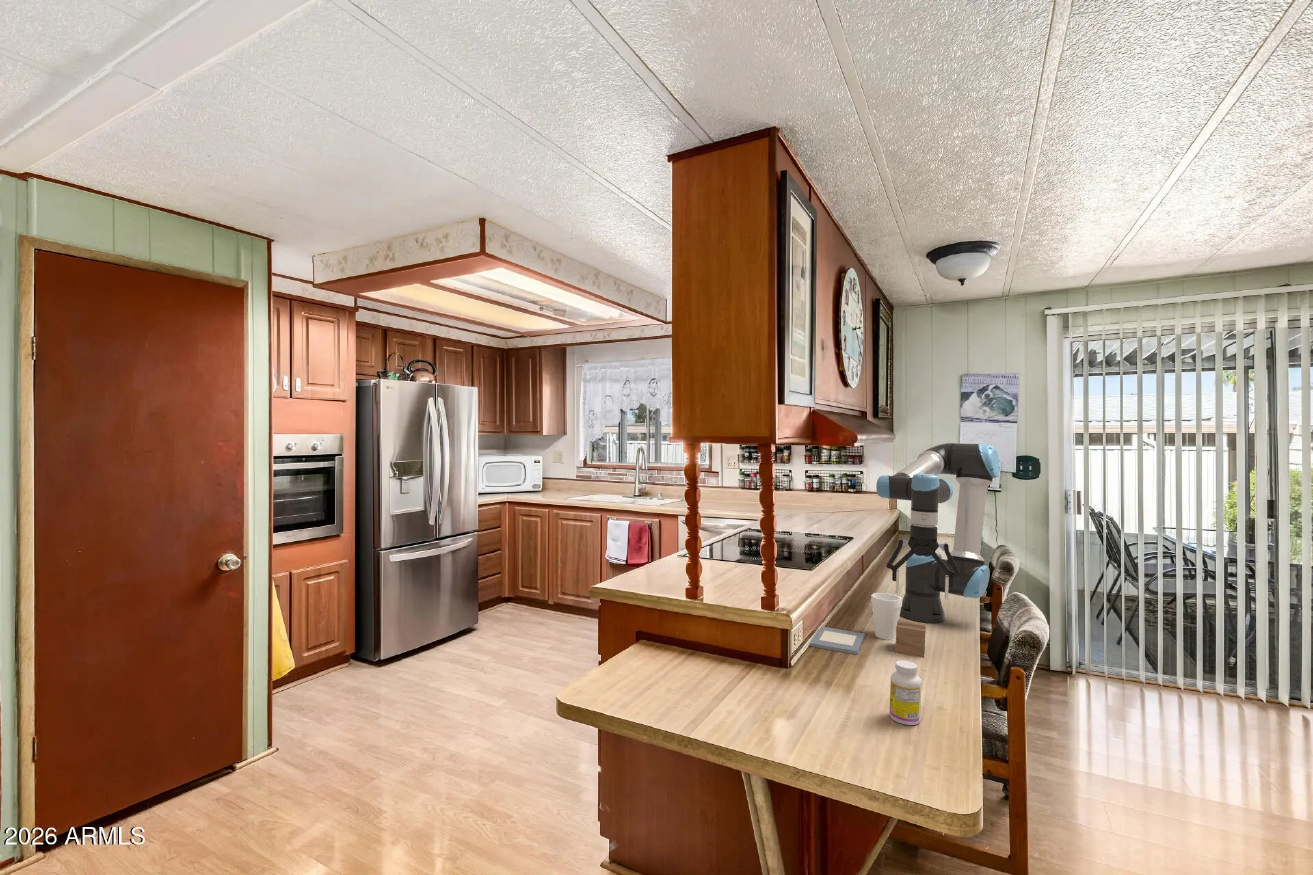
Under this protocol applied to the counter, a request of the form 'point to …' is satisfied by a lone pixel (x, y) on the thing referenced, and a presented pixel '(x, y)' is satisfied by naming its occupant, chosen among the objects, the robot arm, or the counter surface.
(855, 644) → the blue flat board
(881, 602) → the foam cup
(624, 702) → the counter surface
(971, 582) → the robot arm
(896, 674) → the supplement bottle
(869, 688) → the counter surface
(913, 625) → the walnut cube
